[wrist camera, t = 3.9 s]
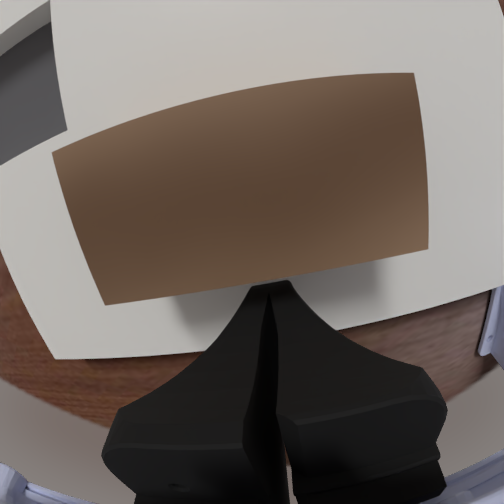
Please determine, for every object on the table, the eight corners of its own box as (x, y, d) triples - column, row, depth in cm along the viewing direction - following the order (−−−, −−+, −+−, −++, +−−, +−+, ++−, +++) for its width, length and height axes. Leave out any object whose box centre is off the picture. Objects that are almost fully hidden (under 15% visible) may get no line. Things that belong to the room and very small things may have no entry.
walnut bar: (373, 203, 10) (428, 249, 7) (150, 245, 11) (105, 305, 7) (357, 87, 9) (414, 72, 5) (119, 137, 9) (51, 152, 6)
